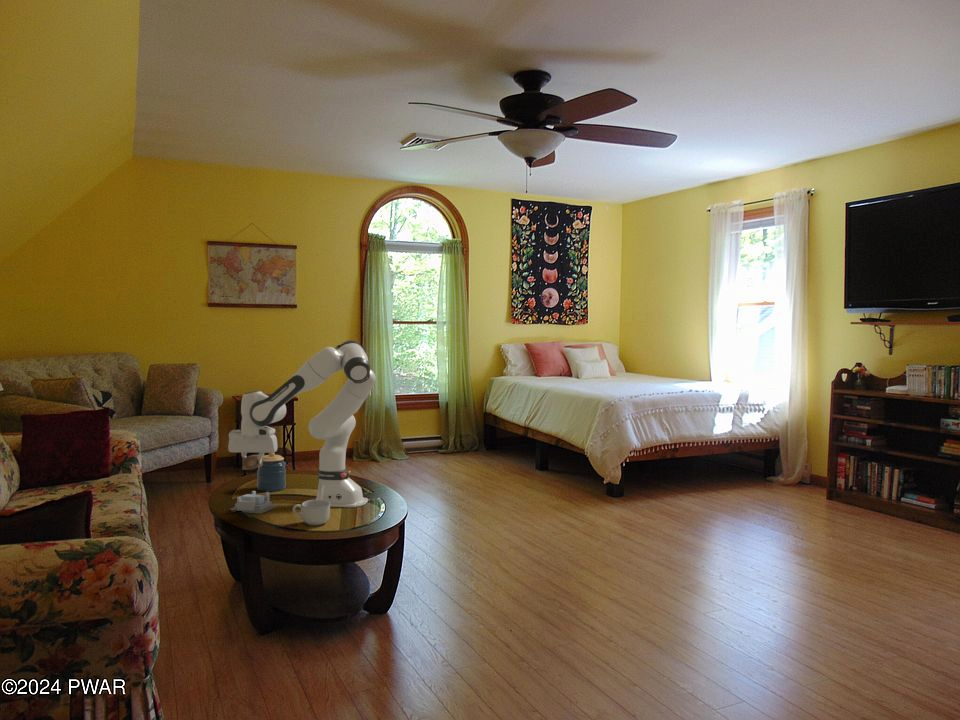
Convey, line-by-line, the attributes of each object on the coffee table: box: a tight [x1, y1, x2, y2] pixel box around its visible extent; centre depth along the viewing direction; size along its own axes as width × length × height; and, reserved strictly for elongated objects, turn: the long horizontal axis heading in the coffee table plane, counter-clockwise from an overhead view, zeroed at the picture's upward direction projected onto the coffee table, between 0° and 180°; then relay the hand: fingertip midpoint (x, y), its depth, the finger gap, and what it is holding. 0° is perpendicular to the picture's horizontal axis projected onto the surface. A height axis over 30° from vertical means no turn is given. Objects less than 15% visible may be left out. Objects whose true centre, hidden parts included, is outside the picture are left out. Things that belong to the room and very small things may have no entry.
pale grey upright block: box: [240, 493, 265, 505], centre depth 275 cm, size 8×4×4 cm, turn 77°
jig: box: [229, 490, 277, 515], centre depth 275 cm, size 14×12×6 cm
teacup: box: [292, 499, 331, 526], centre depth 256 cm, size 14×11×8 cm
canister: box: [256, 452, 287, 492], centre depth 312 cm, size 13×13×18 cm
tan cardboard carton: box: [241, 454, 263, 471], centre depth 276 cm, size 4×10×4 cm, turn 173°
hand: (253, 463), depth 277 cm, fingers closed on tan cardboard carton, 4 cm apart
